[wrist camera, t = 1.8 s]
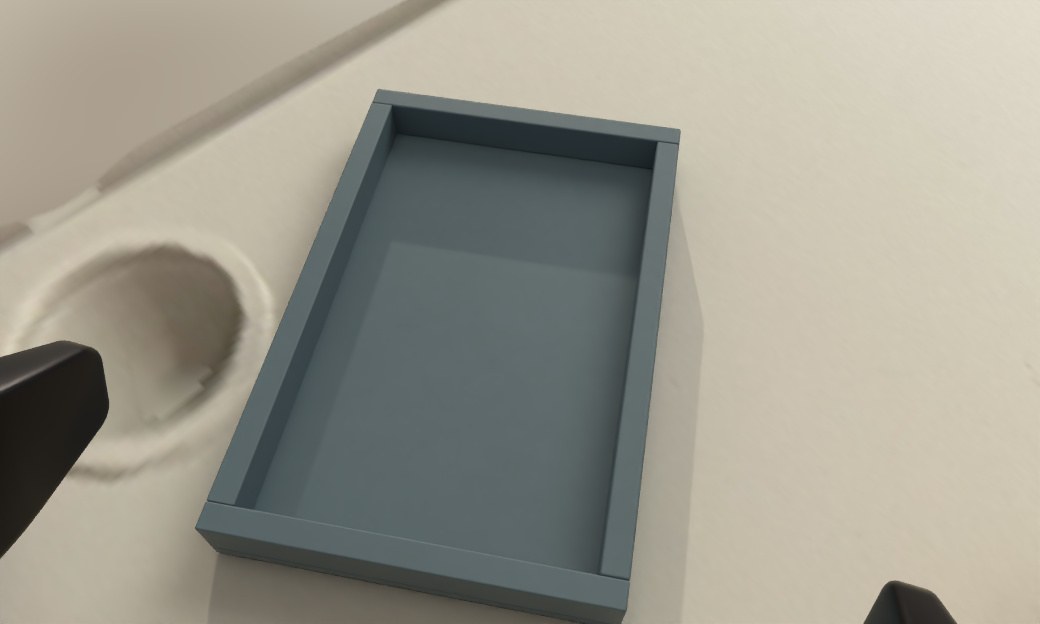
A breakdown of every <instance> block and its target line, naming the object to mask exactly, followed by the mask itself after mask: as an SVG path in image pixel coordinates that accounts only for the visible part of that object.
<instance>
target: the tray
mask: <svg viewBox="0 0 1040 624" xmlns="http://www.w3.org/2000/svg"><path fill="white" fill-rule="evenodd" d="M680 133H681V131H680V129H674V128H667V127H659V126H652V125H644V124H637V123H629V122H622V121H614V120H607V119H600V118H592V117H585V116H577V115H570V114H562V113H555V112H547V111H540V110H532V109H525V108H517V107H510V106H503V105H495V104H488V103H480V102H473V101H465V100H458V99H450V98H443V97H435V96H428V95H420V94H413V93H406V92H398V91H391V90H383V89H378V90H377V92H376V95H375V97H374V100H373V102H372V104H371V106H370V109H369V111H368V113H367V116H366V118H365V121H364V123H363V125H362V128H361V130H360V133H359V135H358V138H357V140H356V142H355V145H354V147H353V150H352V152H351V154H350V157H349V159H348V162H347V164H346V166H345V169H344V171H343V174H342V176H341V178H340V181H339V183H338V186H337V188H336V190H335V193H334V195H333V198H332V200H331V202H330V205H329V207H328V210H327V212H326V214H325V217H324V219H323V222H322V224H321V226H320V229H319V231H318V234H317V236H316V238H315V241H314V243H313V246H312V248H311V250H310V253H309V255H308V258H307V260H306V262H305V265H304V267H303V270H302V272H301V274H300V277H299V279H298V282H297V284H296V286H295V289H294V291H293V294H292V296H291V298H290V301H289V303H288V306H287V308H286V310H285V313H284V315H283V318H282V320H281V323H280V325H279V327H278V330H277V332H276V335H275V337H274V339H273V342H272V344H271V347H270V349H269V351H268V354H267V356H266V359H265V361H264V363H263V366H262V368H261V371H260V373H259V375H258V378H257V380H256V383H255V385H254V387H253V390H252V392H251V395H250V397H249V399H248V402H247V404H246V407H245V409H244V411H243V414H242V416H241V419H240V421H239V423H238V426H237V428H236V431H235V433H234V435H233V438H232V440H231V443H230V445H229V447H228V450H227V452H226V455H225V457H224V459H223V462H222V464H221V467H220V469H219V471H218V474H217V476H216V479H215V481H214V483H213V486H212V488H211V491H210V493H209V496H208V498H207V501H208V502H206V503H205V505H204V508H203V510H202V512H201V515H200V517H199V520H198V522H197V524H196V527H195V529H196V530H197V531H198V532H199V533H200V534H201V535H202V536H203V537H204V539H205V540H206V541H207V542H208V543H209V544H210V545H211V546H213V548H214V549H215V550H216V551H217V552H220V553H225V554H230V555H235V556H241V557H246V558H251V559H256V560H261V561H266V562H271V563H277V564H282V565H287V566H292V567H297V568H302V569H307V570H312V571H318V572H323V573H328V574H333V575H338V576H343V577H348V578H354V579H359V580H364V581H369V582H374V583H379V584H384V585H389V586H395V587H400V588H405V589H410V590H415V591H420V592H425V593H431V594H436V595H441V596H446V597H451V598H456V599H461V600H466V601H472V602H477V603H482V604H487V605H492V606H497V607H502V608H508V609H513V610H518V611H523V612H528V613H533V614H538V615H543V616H549V617H554V618H559V619H564V620H569V621H574V622H579V623H585V624H621V622H622V620H623V618H624V615H625V613H626V611H627V603H628V594H629V585H630V582H629V580H630V576H631V567H632V558H633V549H634V540H635V531H636V522H637V514H638V505H639V496H640V487H641V478H642V469H643V460H644V452H645V443H646V434H647V425H648V416H649V407H650V398H651V389H652V381H653V372H654V363H655V354H656V345H657V336H658V327H659V319H660V310H661V301H662V292H663V283H664V274H665V265H666V257H667V248H668V239H669V230H670V221H671V212H672V203H673V195H674V186H675V177H676V168H677V159H678V150H679V141H680Z"/></svg>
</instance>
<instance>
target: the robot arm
mask: <svg viewBox="0 0 1040 624" xmlns="http://www.w3.org/2000/svg"><path fill="white" fill-rule="evenodd" d="M108 410H109V398H108V392H107V386H106V380H105V374H104V368H103V362H102V358H101V356H100V354H99V353H98V351H97V350H95V349H94V348H92V347H88V346H85V345H81V344H78V343H74V342H71V341H57V342H53V343H50V344H46V345H42V346H39V347H35V348H32V349H28V350H25V351H21V352H17V353H14V354H10V355H7V356H3V357H0V559H1V558H2V556H3V555H4V554H5V553H6V552H7V551H8V550H9V549H10V547H11V546H12V545H13V544H14V543H15V542H16V540H17V539H18V538H19V537H20V536H21V534H22V533H23V532H24V531H25V530H26V529H27V527H28V526H29V525H30V523H31V522H32V521H33V519H34V518H35V517H36V516H37V514H38V513H39V512H40V510H41V509H42V508H43V506H44V505H45V504H46V502H47V501H48V499H49V498H50V497H51V495H52V494H53V493H54V491H55V490H56V488H57V487H58V486H59V484H60V483H61V481H62V480H63V479H64V477H65V476H66V475H67V473H68V472H69V470H70V469H71V468H72V466H73V465H74V464H75V462H76V461H77V459H78V458H79V457H80V455H81V454H82V453H83V451H84V450H85V448H86V447H87V446H88V444H89V443H90V441H91V440H92V439H93V437H94V436H95V435H96V433H97V432H98V430H99V429H100V428H101V426H102V425H103V423H104V421H105V419H106V417H107V414H108ZM864 624H957V623H956V621H955V620H954V619H953V617H952V616H951V615H950V613H949V612H948V610H947V609H946V608H945V606H944V605H943V604H942V602H941V601H940V599H939V598H938V597H937V596H936V595H935V594H934V593H933V592H931V591H929V590H927V589H924V588H921V587H917V586H914V585H911V584H907V583H904V582H900V581H890V582H888V583H887V584H886V585H885V586H884V587H883V589H882V590H881V592H880V594H879V596H878V598H877V599H876V601H875V603H874V605H873V607H872V609H871V611H870V613H869V614H868V616H867V618H866V620H865V622H864Z"/></svg>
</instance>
